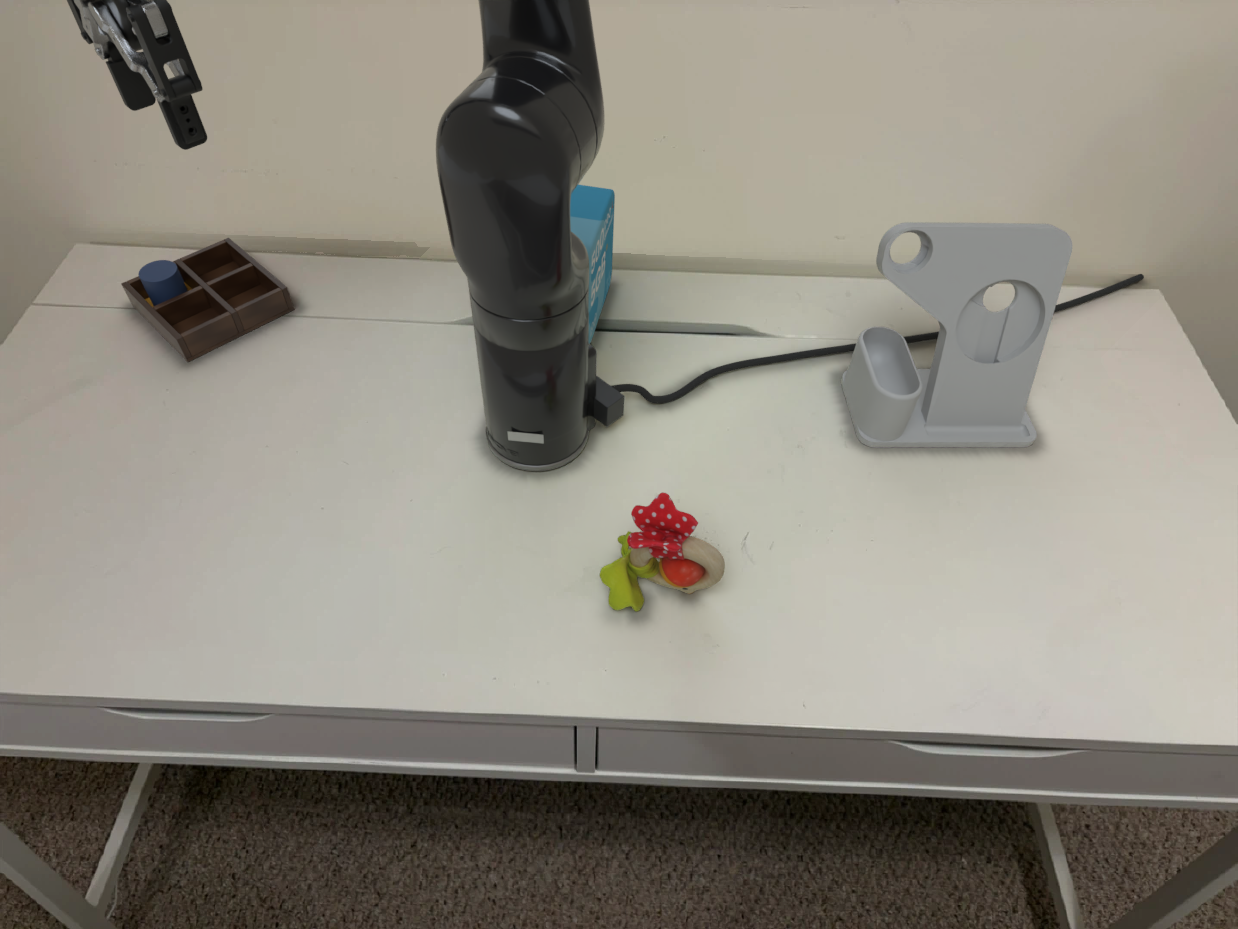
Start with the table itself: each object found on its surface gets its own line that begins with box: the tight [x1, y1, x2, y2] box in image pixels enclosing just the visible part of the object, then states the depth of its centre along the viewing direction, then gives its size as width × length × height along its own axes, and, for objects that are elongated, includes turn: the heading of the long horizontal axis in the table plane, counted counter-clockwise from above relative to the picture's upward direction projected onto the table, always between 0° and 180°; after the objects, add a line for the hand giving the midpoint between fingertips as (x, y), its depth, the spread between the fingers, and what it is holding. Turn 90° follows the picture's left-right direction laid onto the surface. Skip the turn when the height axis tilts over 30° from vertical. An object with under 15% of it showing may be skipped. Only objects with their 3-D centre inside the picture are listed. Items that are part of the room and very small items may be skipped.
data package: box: [570, 184, 616, 345], centre depth 83 cm, size 12×4×12 cm, turn 169°
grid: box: [121, 237, 295, 363], centre depth 85 cm, size 12×12×3 cm
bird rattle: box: [599, 492, 726, 613], centre depth 62 cm, size 6×11×9 cm
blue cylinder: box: [138, 259, 188, 306], centre depth 84 cm, size 4×4×4 cm
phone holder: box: [840, 221, 1073, 448], centre depth 73 cm, size 17×10×18 cm, turn 92°
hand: (167, 124), depth 64 cm, fingers open, 8 cm apart
